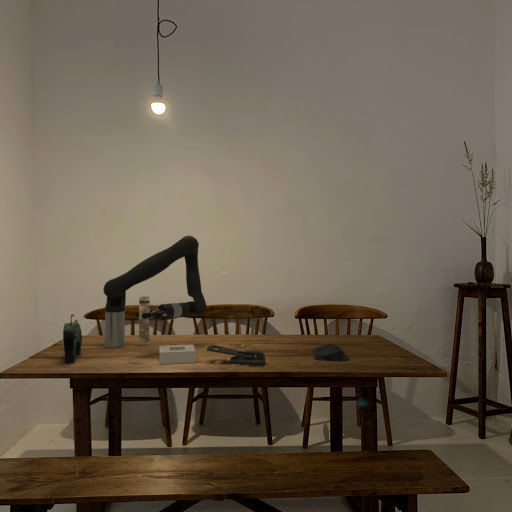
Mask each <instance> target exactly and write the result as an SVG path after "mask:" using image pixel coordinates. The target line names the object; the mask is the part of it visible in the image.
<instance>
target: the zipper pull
mask: <svg viewBox="0 0 512 512" xmlns="http://www.w3.org/2000/svg"><path fill="white" fill-rule="evenodd" d="M206 351H207V352H213V353H217V354H218V353H219V354H224V355H230V356H231V357H230V364H231V363H232V364H240V365H239V366H241V365H249V366H248V367H252V366H261V367H263V366H262V365H264V366H265V365H266V356H265V352H263V351H259V350H258V351H257V350H238V349H234V348H230V347H229V348H228V347H224V346H220V345H216V344H210V345H209V346H207V348H206ZM232 364H231V365H232Z"/></svg>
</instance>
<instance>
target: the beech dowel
mask: <svg viewBox="0 0 512 512" xmlns="http://www.w3.org/2000/svg"><path fill="white" fill-rule="evenodd" d="M138 299H139V300H138V312H139V317H138V342H139V343H149V342H150V318H142V314H143V313H149V309H151V307H150V304H151V301H150V300H151V299H150V296H148V295H147V296H141V295H140V296H139V298H138Z"/></svg>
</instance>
